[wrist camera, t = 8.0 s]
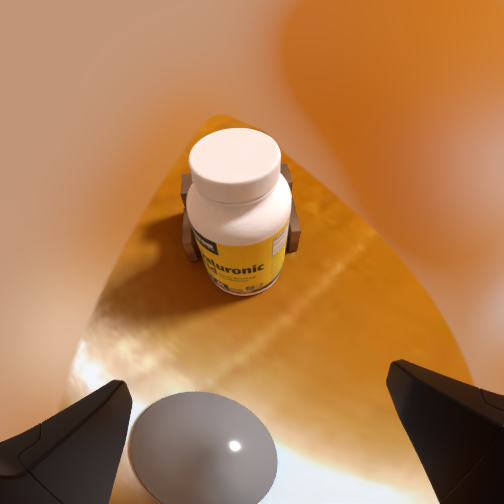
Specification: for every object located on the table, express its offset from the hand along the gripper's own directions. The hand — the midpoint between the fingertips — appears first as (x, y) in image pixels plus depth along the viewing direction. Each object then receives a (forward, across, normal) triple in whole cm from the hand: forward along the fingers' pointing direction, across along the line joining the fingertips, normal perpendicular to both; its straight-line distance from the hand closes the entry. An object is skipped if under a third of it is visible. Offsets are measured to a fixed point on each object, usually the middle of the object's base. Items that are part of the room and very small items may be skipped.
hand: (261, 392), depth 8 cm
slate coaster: (+3, +4, +9) cm, 10 cm away
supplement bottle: (+12, 0, -1) cm, 12 cm away
